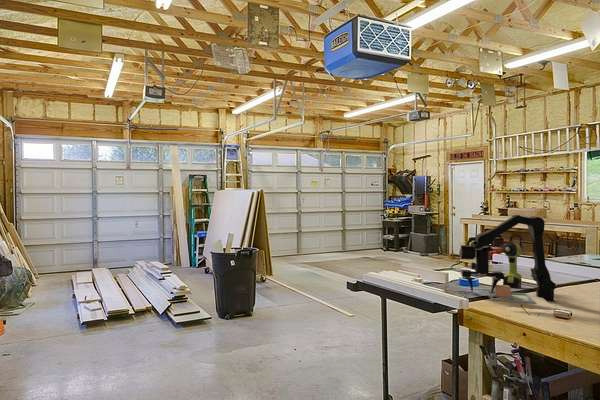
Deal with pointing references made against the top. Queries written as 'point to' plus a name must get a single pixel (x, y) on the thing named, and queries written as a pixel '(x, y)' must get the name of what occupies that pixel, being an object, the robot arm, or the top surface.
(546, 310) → the top surface
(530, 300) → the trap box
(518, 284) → the cordless drill
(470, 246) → the robot arm
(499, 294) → the block
